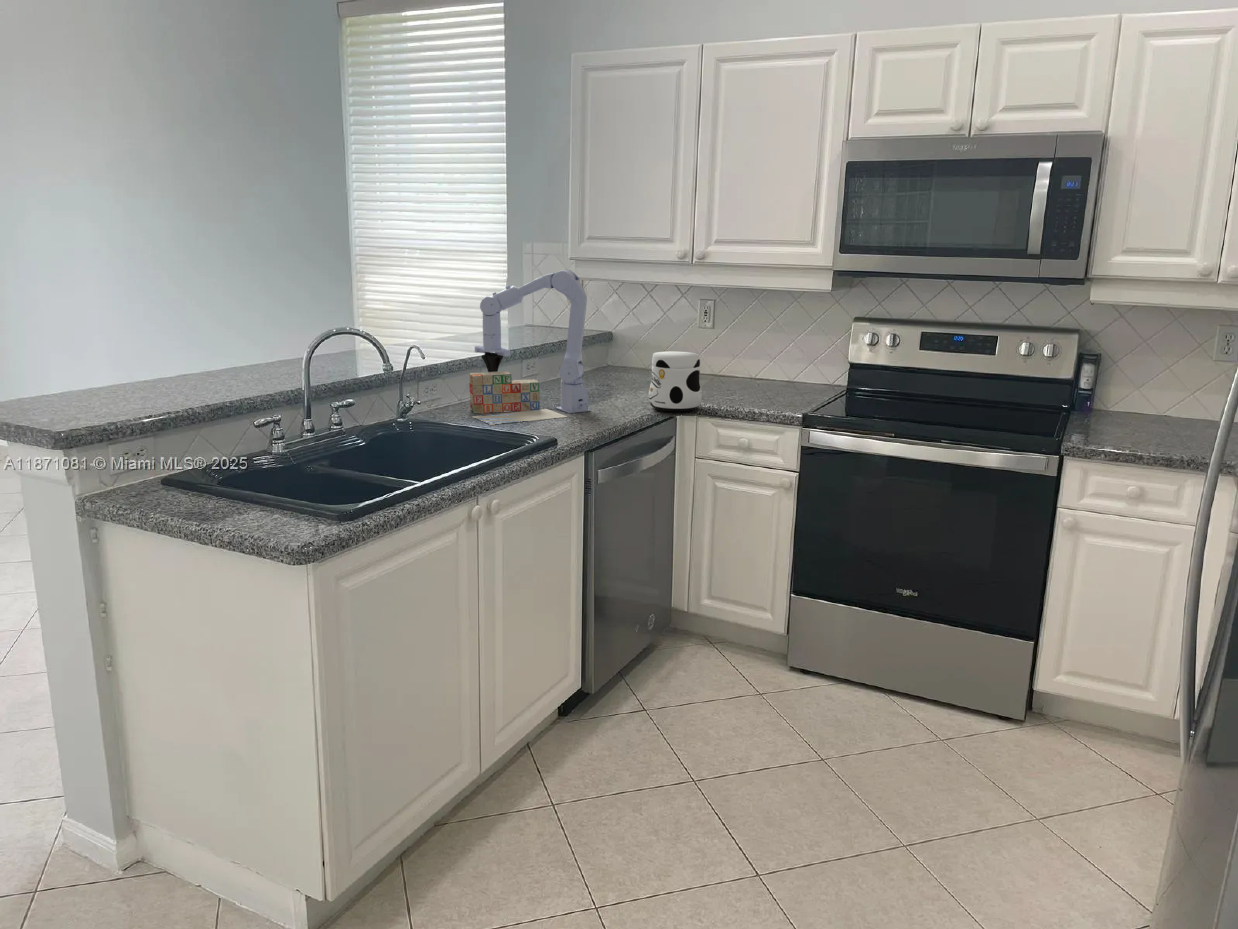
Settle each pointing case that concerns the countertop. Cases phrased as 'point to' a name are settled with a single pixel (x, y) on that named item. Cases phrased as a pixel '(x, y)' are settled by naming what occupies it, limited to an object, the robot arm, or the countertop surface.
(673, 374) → the milk container
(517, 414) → the mat
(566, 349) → the robot arm
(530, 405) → the stack of blocks
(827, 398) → the countertop surface
